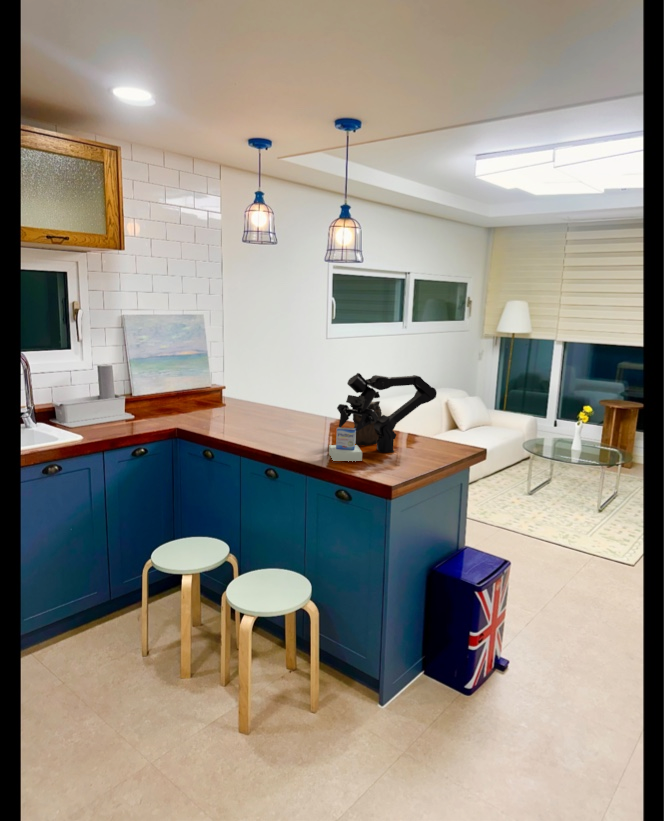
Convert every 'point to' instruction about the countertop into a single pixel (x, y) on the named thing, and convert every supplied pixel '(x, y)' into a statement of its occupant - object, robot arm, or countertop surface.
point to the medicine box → (345, 438)
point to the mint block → (345, 454)
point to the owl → (367, 427)
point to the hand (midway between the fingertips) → (347, 428)
